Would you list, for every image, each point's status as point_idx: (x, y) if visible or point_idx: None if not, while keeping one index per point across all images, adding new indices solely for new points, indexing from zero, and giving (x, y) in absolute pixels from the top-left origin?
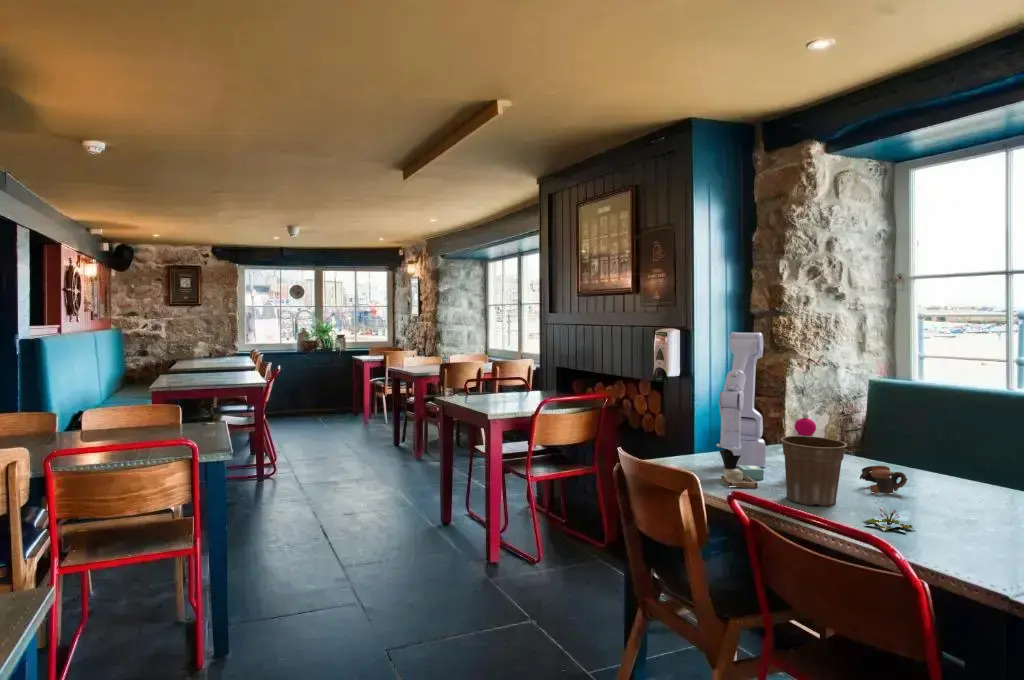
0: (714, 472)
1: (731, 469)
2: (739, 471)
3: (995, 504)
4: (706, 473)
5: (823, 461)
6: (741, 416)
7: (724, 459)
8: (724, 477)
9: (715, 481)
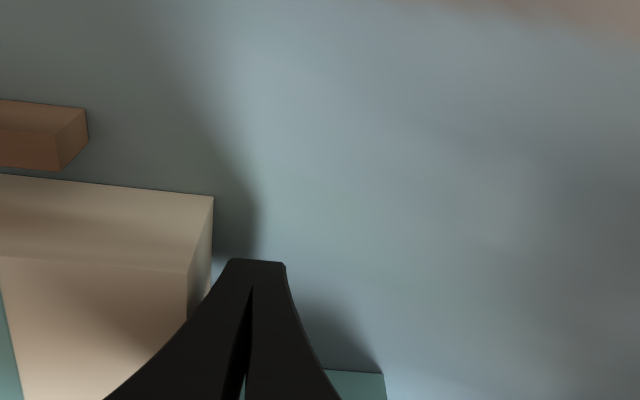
0: (554, 205)
1: (149, 342)
2: (13, 385)
3: None
4: (535, 82)
5: None
6: None
7: (167, 398)
8: None
9: (44, 18)
